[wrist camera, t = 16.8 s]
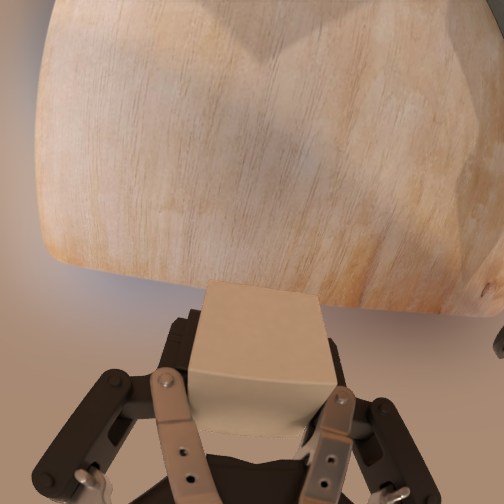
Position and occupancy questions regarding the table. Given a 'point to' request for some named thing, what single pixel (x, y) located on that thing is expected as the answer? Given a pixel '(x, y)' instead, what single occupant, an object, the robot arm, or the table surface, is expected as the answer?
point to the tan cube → (258, 361)
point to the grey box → (498, 12)
